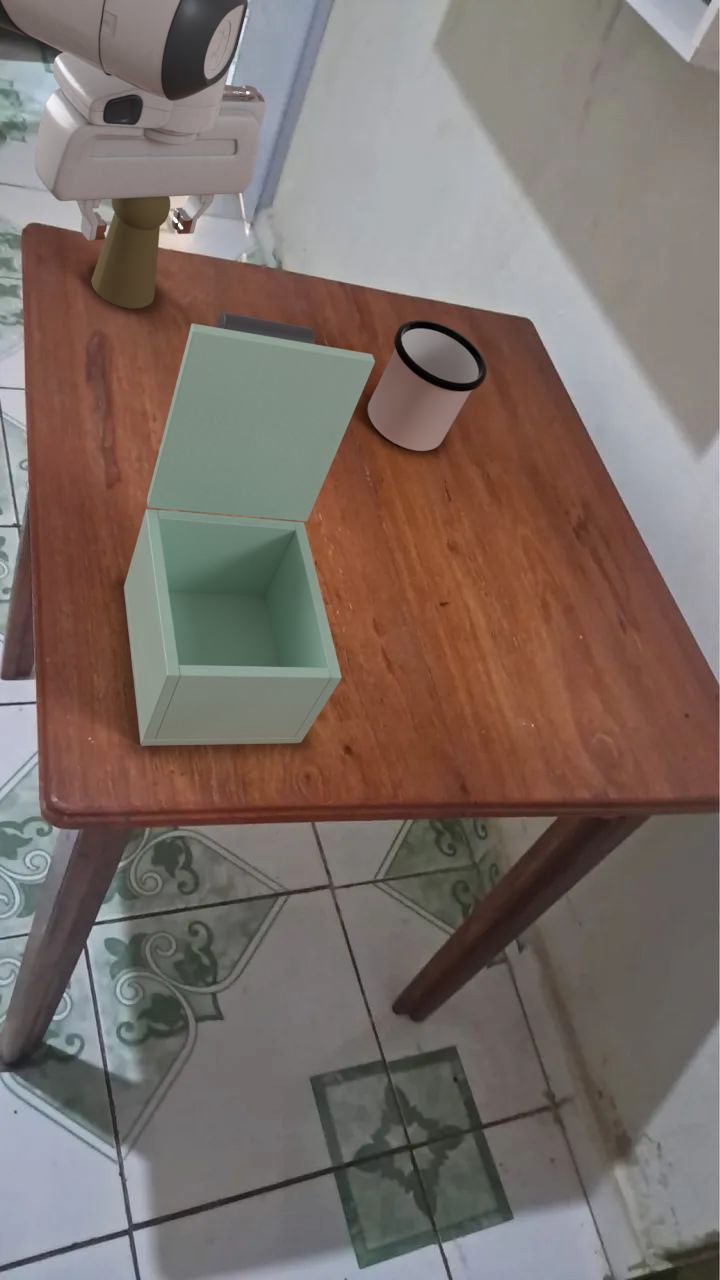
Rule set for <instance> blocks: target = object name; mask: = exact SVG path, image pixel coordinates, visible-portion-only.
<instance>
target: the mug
mask: <svg viewBox="0 0 720 1280" xmlns="http://www.w3.org/2000/svg"><path fill="white" fill-rule="evenodd" d="M393 339H394V340H393V344H394V350H393V353H392V354H391V356H390V358H389V360H388V363H387V365H386V366H385V368H384V371H383V372H382V375H381V377H380V379H379V381H378V383H377V385H376V387H375V389H374V391H373V393H372V396H371V397H370V400H369V402H368V403H367V415H368V417H369V419H370V422H371V424H372V425H373V426H374V428H375V429H376V430H377V431H378V432H379V433H380V434H381V435H382V436H383V437H384V438H386V439H387V440H389V441H390V442H391V443H393V444H395V445H397V446H399V447H401V448H405V449H406V450H407V449H408V450H412V451H419V452H425V451H431V450H434V449H436V448H438V447H439V446H440V445H441V444H442V442H443V441H444V439H445V438H446V436H447V434H448V432H449V431H450V429H451V427H452V425H453V424H454V422H455V420H456V419H457V417H458V415H459V413H460V411H461V410H462V409H463V406H464V405H465V403H466V401H467V399H468V398H469V396H470V394H471V392H472V391H473V390H476V389H478V388H480V387H481V386H482V384H484V382H485V379H486V377H487V374H488V367H487V363H486V360H485V358H484V357H483V354H482V353H481V352H480V350H479V349H478V348H477V347H476V345H475V344H474V343H473V342H472V341H471V340H470V339H468V338H467V337H466V336H464V334H462V333H460V332H459V331H457V330H455V329H454V328H452V327H449V326H448V325H446V324H443V323H440V322H437V321H432V320H427V319H413V320H409V321H406V322H404V323H402V324H401V325H400V326H399V327H398V329H397V331H396V332H395V335H394V338H393Z"/></svg>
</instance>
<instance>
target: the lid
mask: <svg viewBox="0 0 720 1280" xmlns="http://www.w3.org/2000/svg"><path fill="white" fill-rule="evenodd" d="M315 338H316V337H315V331H314V329H313V328H312V327H309V326H304V325H300V324H299V325H298V324H292V323H287V322H282V321H276V320H271V319H264V318H259V317H253V316H248V315H244V314H243V315H242V314H236V313H231V312H225V311H222V312H220V314H219V316H218V318H217V322H216V326H209V325H203V324H199V323H191V325H190V328H189V332H188V336H187V340H186V344H185V348H184V352H183V356H182V360H181V363H180V367H179V371H178V375H177V380H176V384H175V387H174V391H173V394H172V399H171V403H170V407H169V411H168V415H167V419H166V423H165V427H164V431H163V433H162V434H163V435H162V438H161V442H160V446H159V450H158V454H157V458H156V462H155V467H154V470H153V474H152V478H151V482H150V485H149V489H148V494H147V497H146V502H147V509H157V510H168V511H180V512H191V513H203V514H214V515H226V516H237V517H249V518H260V519H271V520H283V521H294V522H308V520H309V519H310V516H311V514H312V511H313V508H314V506H315V504H316V501H317V499H318V497H319V494H320V492H321V490H322V487H323V485H324V482H325V480H326V478H327V475H328V473H329V471H330V468H331V466H332V464H333V461H334V460H335V457H336V454H337V452H338V449H339V447H340V444H341V443H342V440H343V438H344V436H345V433H346V431H347V428H348V426H349V424H350V421H351V419H352V417H353V415H354V412H355V410H356V407H357V405H358V403H359V400H360V398H361V396H362V393H363V391H364V389H365V387H366V384H367V381H368V379H369V377H370V375H371V372H372V370H373V367H374V366H375V363H376V360H375V358H374V355H373V354H372V353H367V352H361V351H356V350H351V349H345V348H340V347H339V348H338V347H333V346H326V345H320V344H316V343H315V341H316V340H315Z"/></svg>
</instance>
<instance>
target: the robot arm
mask: <svg viewBox="0 0 720 1280" xmlns="http://www.w3.org/2000/svg"><path fill="white" fill-rule="evenodd" d="M248 5H249V0H0V27H2V28H5V29H7V30H10V31H12V32H15V33H18V34H20V35H22V36H25V37H27V38H30V39H34V40H37V41H40V42H42V43H44V44H46V45H48V46H50V47H52V48H54V49H56V50H58V51H60V52H61V53H59V54H57V55H56V57H55V58H54V61H53V66H52V74H53V78H54V80H55V81H56V83H57V85H58V87H59V88H58V89H55V90H54V91H53V92H52V93H51V94H50V95H49V97H48V98H47V99H46V102H45V104H44V106H43V110H42V113H41V117H40V122H39V127H38V132H37V137H36V143H35V151H34V170H35V173H36V175H37V177H38V179H40V181H41V183H42V185H43V186H44V187H45V188H46V189H47V190H48V192H49V193H50V194H51V196H53V197H54V198H55V199H56V200H57V201H59V202H71V201H72V202H73V201H75V202H76V204H77V206H78V208H79V210H80V213H81V214H82V215H81V222H80V231H81V234H82V235H83V237H84V238H85V239H86V240H87V241H105V239H106V234H105V233H106V232H107V227H108V224H107V222H106V221H105V219H103V218H102V216H101V214H100V213H99V212H98V211H94V209H99V208H100V205H101V200H111V199H122V198H145V197H169V198H170V197H188V198H187V199H186V200H185V202H184V203H183V205H182V207H174V210H173V217H172V219H171V226H172V228H173V229H174V230H175V231H176V233H177V234H178V235H189V234H190V235H191V234H194V233H195V230H196V227H197V222H198V220H199V219H200V218H201V217H202V216H203V214H204V213H205V212H206V211H207V210H208V209H209V207H210V206H211V205H212V204H213V202H214V197H215V195H235V194H236V195H237V194H242V193H244V192H245V191H246V190H247V189H248V187H249V186H250V185H251V184H252V182H253V180H254V175H255V172H256V167H257V161H258V156H259V149H260V139H261V127H262V125H263V121H264V118H265V114H266V110H267V104H266V101H265V97H264V96H263V95H262V94H261V93H260V92H259V91H258V90H257V88H256V87H255V86H252V85H248V84H247V85H240V86H237V85H230V84H227V82H228V81H227V80H228V78H229V77H228V76H229V73H230V68H231V65H232V63H233V61H234V59H235V56H236V53H237V49H238V47H239V43H240V39H241V35H242V31H243V26H244V23H245V20H246V15H247V11H248Z"/></svg>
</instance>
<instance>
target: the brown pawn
mask: <svg viewBox="0 0 720 1280" xmlns="http://www.w3.org/2000/svg"><path fill="white" fill-rule="evenodd" d="M110 202H111V206H112V209H113V212H114V214H113V216H112V219H111V221H110V225H109V227H108V230H107V233H106V235H105V239H104V242H103V245H102V248H101V250H100V254H99V256H98V259H97V262H96V265H95V268H94V271H93V274H92V277H91V286H92V288H93V290H94V291H95V292H96V294H97V295H99V296H100V297H101V298H102V299H103V300H105V301H107V302H109V303H110V304H112V305H115V306H118V307H121V308H125V309H126V308H127V309H143V308H145V307H148V306H149V305H150V304H152V303H153V302H154V300H155V297H156V296H155V295H156V283H157V269H158V255H159V243H160V242H159V241H160V231H161V230H160V228H161V226H162V225H164V223H166V221H167V219H168V217H169V214H170V210H171V198H170V196H169V197H145V198H122V199H110Z"/></svg>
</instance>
